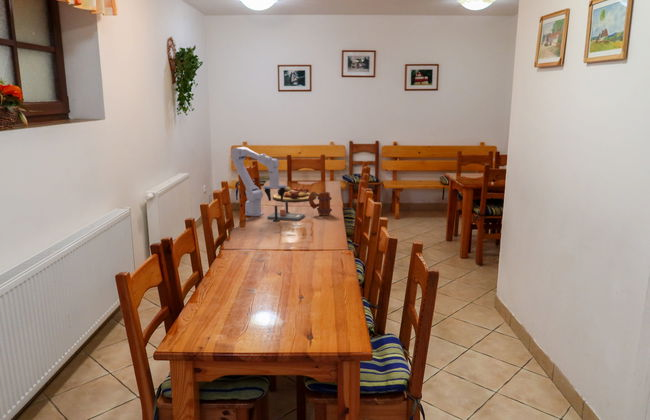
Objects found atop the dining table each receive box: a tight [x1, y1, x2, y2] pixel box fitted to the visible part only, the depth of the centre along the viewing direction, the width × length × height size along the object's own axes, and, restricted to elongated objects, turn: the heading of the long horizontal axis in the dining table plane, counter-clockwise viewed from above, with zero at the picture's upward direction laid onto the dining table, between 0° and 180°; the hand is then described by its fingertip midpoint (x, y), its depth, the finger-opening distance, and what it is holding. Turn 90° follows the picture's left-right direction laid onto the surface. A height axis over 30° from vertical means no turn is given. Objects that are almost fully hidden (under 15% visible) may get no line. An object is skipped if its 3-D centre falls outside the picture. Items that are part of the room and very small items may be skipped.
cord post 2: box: [284, 200, 291, 213], centre depth 322 cm, size 4×4×9 cm
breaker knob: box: [279, 208, 286, 216], centre depth 314 cm, size 3×3×4 cm
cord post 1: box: [272, 205, 280, 223], centre depth 305 cm, size 4×4×9 cm
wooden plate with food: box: [272, 186, 317, 202], centre depth 377 cm, size 32×32×8 cm
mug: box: [308, 190, 333, 216], centre depth 319 cm, size 15×8×15 cm, turn 84°
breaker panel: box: [266, 212, 306, 222], centre depth 314 cm, size 20×12×2 cm, turn 73°
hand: (275, 200), depth 313 cm, fingers open, 7 cm apart
